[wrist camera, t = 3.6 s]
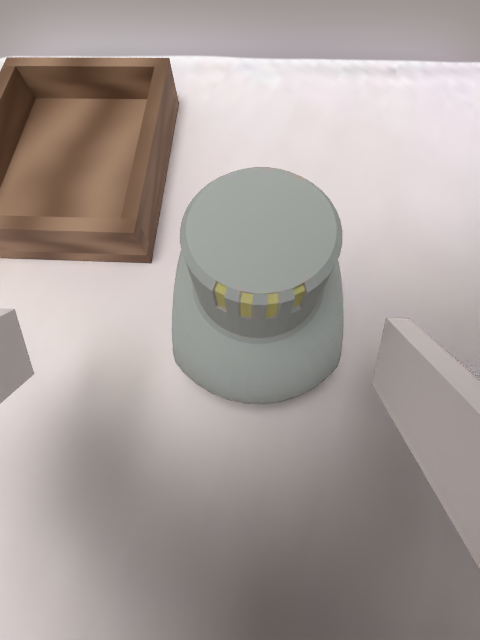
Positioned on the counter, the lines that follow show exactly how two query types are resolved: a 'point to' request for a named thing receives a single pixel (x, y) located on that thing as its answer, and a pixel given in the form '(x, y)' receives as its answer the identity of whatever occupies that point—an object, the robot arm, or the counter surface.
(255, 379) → the air freshener
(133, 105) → the tray
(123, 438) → the counter surface
